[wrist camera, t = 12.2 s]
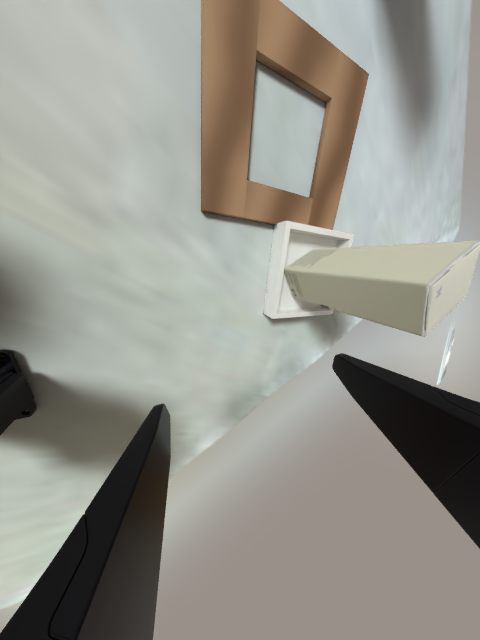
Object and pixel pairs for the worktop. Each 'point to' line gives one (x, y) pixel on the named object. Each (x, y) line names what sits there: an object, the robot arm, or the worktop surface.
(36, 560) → the worktop surface
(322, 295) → the box
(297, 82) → the walnut frame
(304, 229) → the white tray
